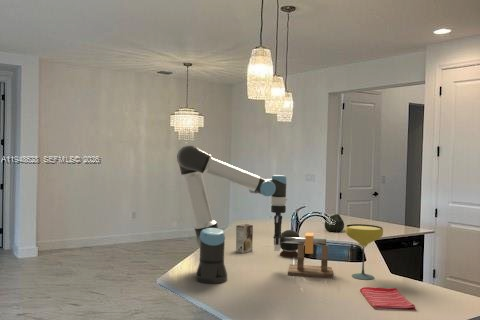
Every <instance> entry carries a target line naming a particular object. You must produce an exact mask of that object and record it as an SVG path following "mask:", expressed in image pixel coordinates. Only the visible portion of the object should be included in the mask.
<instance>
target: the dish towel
mask: <svg viewBox="0 0 480 320" xmlns="http://www.w3.org/2000/svg"><path fill="white" fill-rule="evenodd" d="M359 291H360V293H361V294H362V296H363V297H364V298H365V300H366V301H367V302H368V303H369V305H370V306H371V307H372V308H373V309H375V310H387V311H389V310H390V311H412V312H413V311H415V312H416V311H417V309H416V305H415V304H414V303H412V302H411V301H409V300H408V299H407V298H406V297H405V296H404V295H403V294H402V293H400V291H399V290H398V288H397V287H392V288H384V287H373V286H372V287H369V286H364V287H361V288H360V289H359Z"/></svg>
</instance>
